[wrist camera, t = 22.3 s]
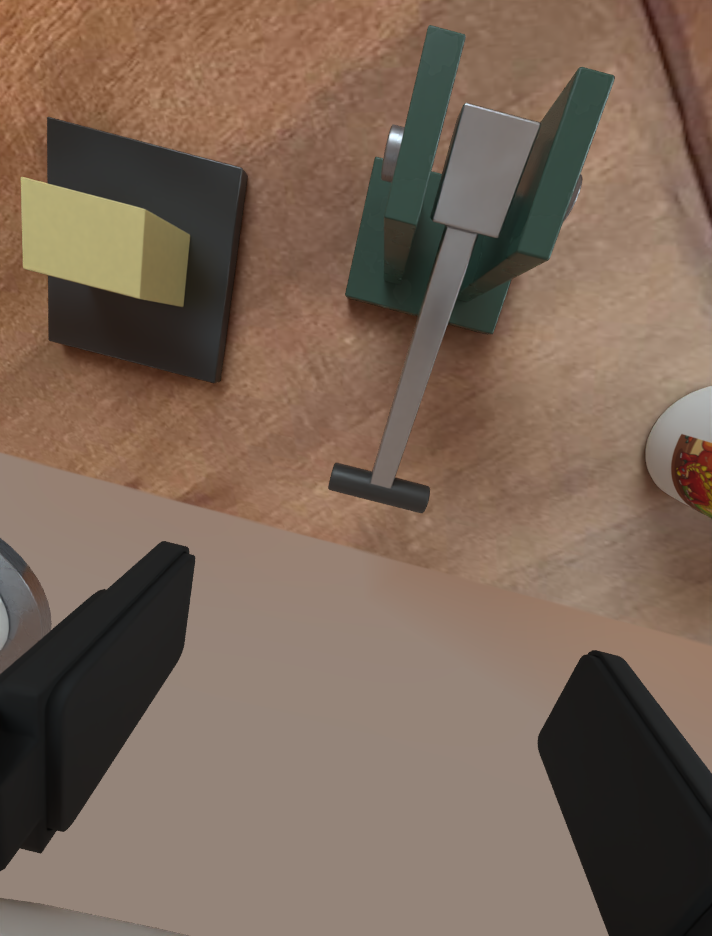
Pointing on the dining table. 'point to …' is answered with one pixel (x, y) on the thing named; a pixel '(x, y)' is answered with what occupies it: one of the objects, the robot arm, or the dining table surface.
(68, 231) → the butter
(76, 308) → the board
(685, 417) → the milk bottle
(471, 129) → the t-handle lever
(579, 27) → the dining table surface
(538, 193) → the green lever stand
